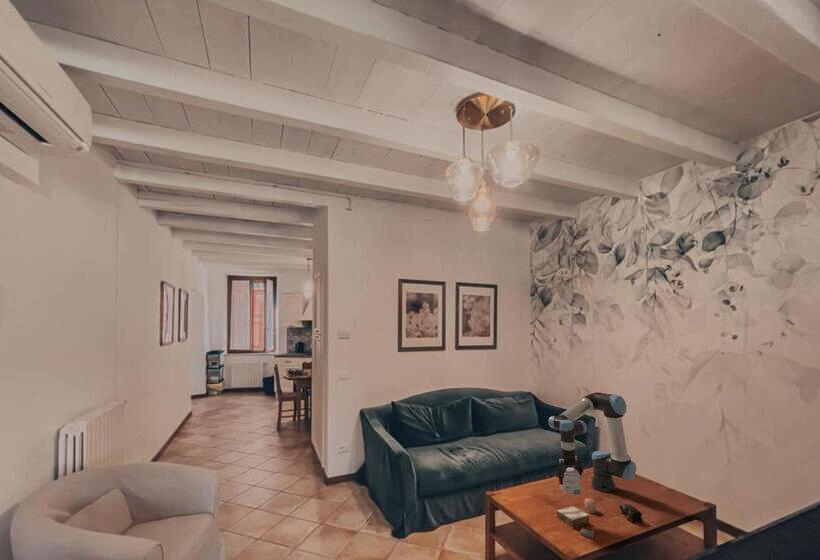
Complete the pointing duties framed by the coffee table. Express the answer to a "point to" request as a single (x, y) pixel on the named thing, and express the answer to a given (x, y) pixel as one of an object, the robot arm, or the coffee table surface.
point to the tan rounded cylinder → (590, 505)
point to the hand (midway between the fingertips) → (570, 487)
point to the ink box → (571, 481)
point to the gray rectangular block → (587, 533)
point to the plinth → (573, 516)
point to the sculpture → (631, 512)
